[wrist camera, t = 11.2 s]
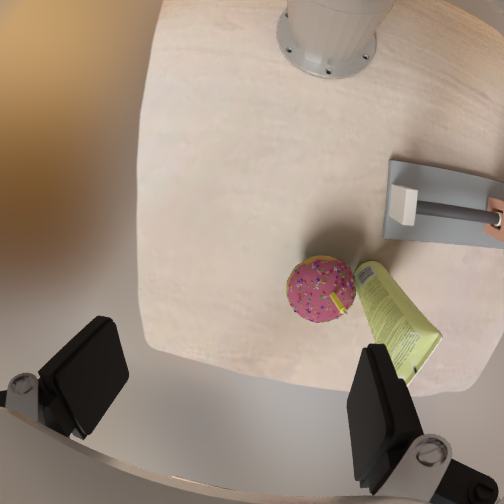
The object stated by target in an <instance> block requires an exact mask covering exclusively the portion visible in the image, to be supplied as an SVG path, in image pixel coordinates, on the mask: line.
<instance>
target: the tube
mask: <svg viewBox="0 0 504 504" xmlns="http://www.w3.org/2000/svg"><path fill="white" fill-rule="evenodd" d="M354 276H355V281H356V292H357V294H358V296H359V299H360V301H361V304H362V307H363V309H364V312H365V314H366V317H367V320H368V323H369V325H370V328H371V331H372V334H373V337H374V340H375V343H376V344H385V345H386V347H387V350H388V352H389V355H390V357H391V360H392V363H393V365H394V368H395V370H396V373H397V376H398V378H402V379H404V381H405V382H406V385H407V386H408V385H409V384H410V383H411V381H412V380H413V379H414V377H415V376H416V375H417V373H418V372H419V371H420V369H421V368H422V367H423V365H424V364H425V363H426V361H427V360H428V359H429V357H430V356H431V354H432V353H433V352H434V350H435V349H436V347H437V346H438V344H439V343H440V341H441V340H442V338H443V336H442V334H441V332H440V331H439V330H438V329H437V328H435V327H434V326H433V325H432V324H431V323H430V322H429V321H428V320H427V318H426V317H425V316H424V315H423V314H422V313H421V312H420V311H419V309H418V308H417V307H416V306H415V305H414V304H413V302H412V301H411V300H410V299H409V298H408V296H407V295H406V294H405V293H404V291H403V290H402V289H401V288H400V286H399V285H398V284H397V283H396V281H395V280H394V279H393V278H392V276H391V275H390V274H389V273H388V271H387V270H386V269H385V267H384V266H383V265H382V264H380V263H379V262H376V261H368V262H365V263H363V264H361V265H360V266H359V267H358V268H357V269H356V271H355V273H354Z"/></svg>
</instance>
